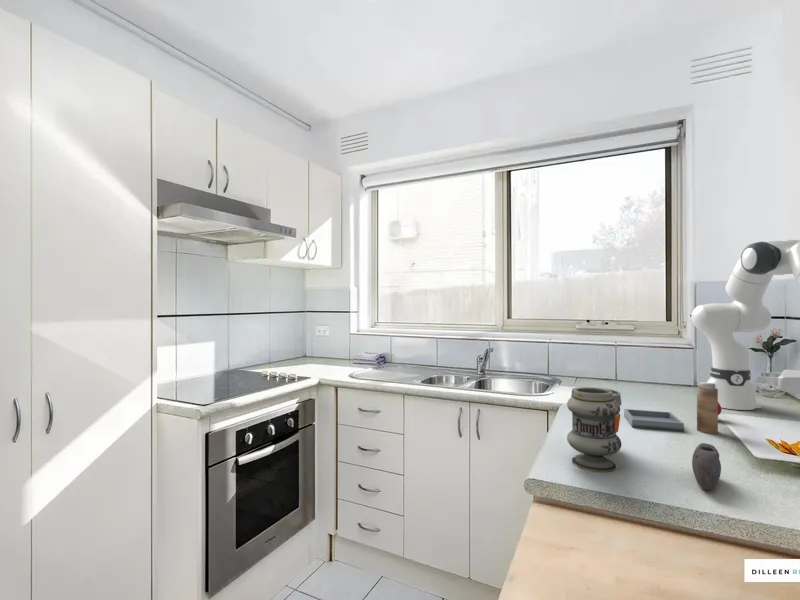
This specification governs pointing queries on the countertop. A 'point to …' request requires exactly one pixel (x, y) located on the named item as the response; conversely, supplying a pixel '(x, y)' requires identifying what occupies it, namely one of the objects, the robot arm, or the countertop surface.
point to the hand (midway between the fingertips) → (759, 377)
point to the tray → (653, 420)
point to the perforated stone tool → (706, 466)
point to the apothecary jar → (593, 428)
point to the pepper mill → (707, 408)
